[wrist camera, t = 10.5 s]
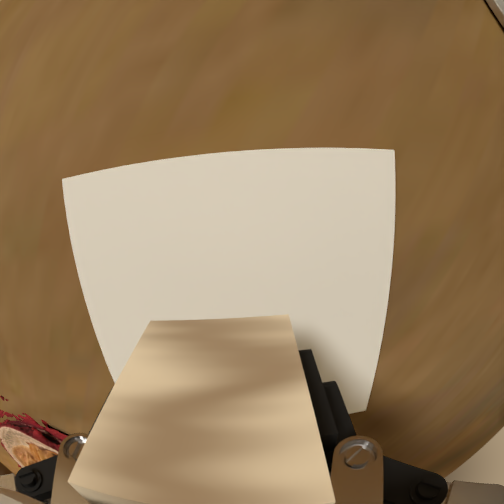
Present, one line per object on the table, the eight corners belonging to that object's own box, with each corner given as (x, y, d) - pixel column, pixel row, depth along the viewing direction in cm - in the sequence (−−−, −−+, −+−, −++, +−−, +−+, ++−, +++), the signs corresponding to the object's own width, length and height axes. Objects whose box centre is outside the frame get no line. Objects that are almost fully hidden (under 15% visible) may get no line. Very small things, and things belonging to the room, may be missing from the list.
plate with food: (162, 459, 20) (154, 489, 17) (161, 529, 27) (158, 545, 23) (-27, 365, 18) (-43, 380, 15) (29, 473, 25) (22, 486, 22)
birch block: (288, 314, 10) (335, 501, 3) (288, 409, 11) (309, 551, 5) (150, 320, 10) (67, 481, 3) (177, 412, 11) (147, 546, 5)
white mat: (388, 150, 12) (394, 150, 12) (363, 404, 17) (365, 410, 16) (68, 178, 12) (61, 179, 12) (134, 414, 17) (131, 419, 16)
